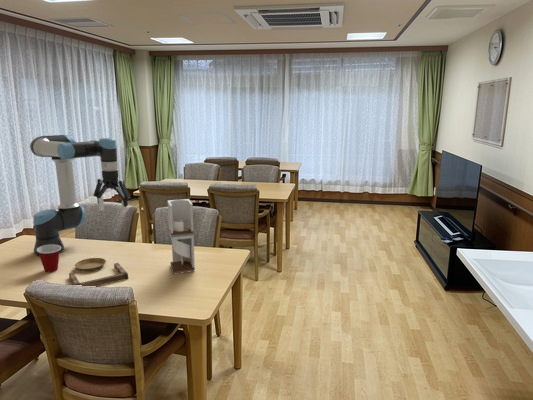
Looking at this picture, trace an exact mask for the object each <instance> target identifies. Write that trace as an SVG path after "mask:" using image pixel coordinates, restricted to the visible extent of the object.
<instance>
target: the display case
mask: <svg viewBox="0 0 533 400" xmlns="http://www.w3.org/2000/svg"><path fill="white" fill-rule="evenodd" d="M193 213H194V209H193V202H192V201H191V200H190V199H189V198H184V199H172V200H171V199H169V200H167V216H168V217H167V219H168V234H169V236H170V239H171V251H172V252H171V253H172V261H170V267H171V271H172V274H173V275H175V274H174V273H178V274H182V273H181V272H186V273H189V272H188V271H194V270H195V269H196V268H195V266H196V265H195V240H194V239H195V236H194V214H193ZM195 271H196V270H195ZM195 271H194V272H195Z"/></svg>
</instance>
